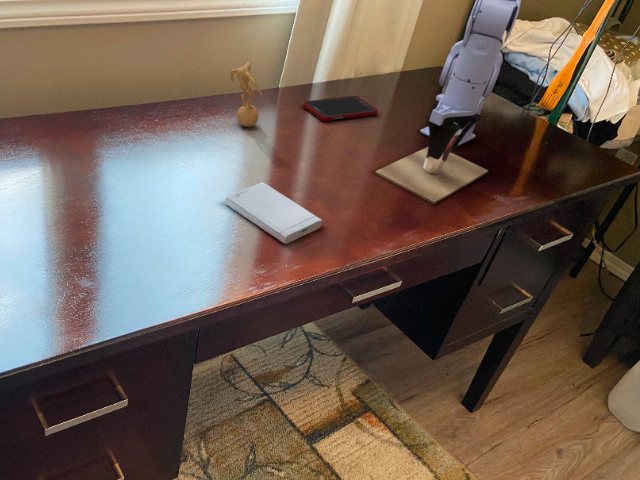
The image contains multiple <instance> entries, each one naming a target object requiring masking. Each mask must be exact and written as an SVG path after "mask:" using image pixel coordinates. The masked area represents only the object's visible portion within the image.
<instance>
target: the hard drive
mask: <svg viewBox="0 0 640 480" xmlns="http://www.w3.org/2000/svg"><path fill="white" fill-rule="evenodd" d="M224 201H225V202H224V203H225V205H227V206H228V207H229V208H231V209H233V210H234V211H236V212H237V213H238V214H239V215H241V216H242V217H244V218H246V219H247V220H248V221H250V222H252V223H253V224H254V225H256V226H258V227H259V228H261V230H263V231H265V232H266V233H268V234H269V235H271V236H272V237H274V238H275V239H277V240H278V241H279V242H281V243H282V244H284V245H287V244H289V243H291V242H293V241H296V240H298V239H299V238H302V237H304V236H305V235H308V234H311V233H312V232H315V231H316V230H319V229H320V228H321V227H322V226H323V225H322V224H323V219H322V218H320V217H318V216H317V215H315V214H313V213H312V212H311V211H309V210H307V209H306V208H304V207H303V206H302V205H299V204H298V203H297V202H295V201H293V200H292V199H290V198H288V197H286V195H284V194H282V193H281V192H280V191H278V190H276V189H274V188H273V187H271V186H270V185H268V184H267V183H265V182H263V181H262V182H259V183H257V184H254V185H251V186H248V187H246V188H243V189H240V190H238V191H236V192H233V193H230V194H228V195H227V196H226V197H225V200H224Z"/></svg>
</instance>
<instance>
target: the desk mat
mask: <svg viewBox="0 0 640 480" xmlns="http://www.w3.org/2000/svg"><path fill="white" fill-rule="evenodd" d="M427 152H428V146H426V147H424V148H422V149H420V150H418V151H416V152H414V153H411V154H409V155H407V156H405V157H403V158H401V159H398V160H396V161H393V162H392V163H390V164H388V165H386V166H383V167H381V168H379V169H376V171H375V173H374V174H375V175H377V176H379V177H381V178H383V179H385V180H386V181H389V182H391V183H392V184H395V185H396V186H398V187H400V188H401V189H404V190H406V191H407V192H409V193H411V194H413V195H415V196H416V197H419V198H421V199H422V200H424V201H427V202H428V203H430V204H432V205H435V204H437V203H439V202H440V201H442V200H444V199H446V198H447V197H449V196H450V195H452V194H454V193H456V192H458V191H459V190H461V189H463V188H465V187H467V186H468V185H470V184H471V183H473V182H475V181H476V180H478V179H480V178H481V177H483V176H485V175H486V174H488V173H489V170H488V169H486V168H484V167H482V166H480V165H478V164H475V163H473V162H471V161H469V160H467V159H465V158H463V157H462V156H459V155H457V154H455V153H453V152H452V153H450V155H449V157H448V159H447V161H446V163H445V165H444V167H443V169H442V171H441V172H440V174H432V173H429V172H427V171H425V170H424V168H423V166H424V162H425V159H426V156H427Z"/></svg>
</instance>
